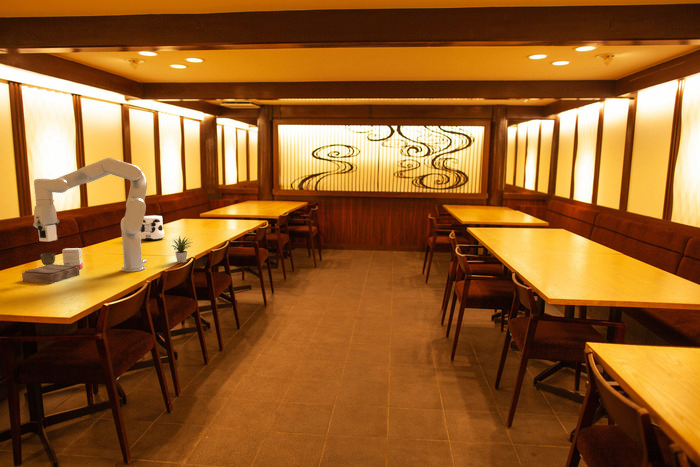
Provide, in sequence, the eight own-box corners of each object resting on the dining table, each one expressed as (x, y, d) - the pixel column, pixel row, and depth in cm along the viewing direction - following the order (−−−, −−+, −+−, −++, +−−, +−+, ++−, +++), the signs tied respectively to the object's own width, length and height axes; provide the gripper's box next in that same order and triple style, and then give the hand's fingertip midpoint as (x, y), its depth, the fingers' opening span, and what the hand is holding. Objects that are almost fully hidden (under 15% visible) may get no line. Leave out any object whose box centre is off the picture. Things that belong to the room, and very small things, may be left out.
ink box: (83, 267, 266) (81, 247, 264) (80, 269, 262) (78, 249, 260) (67, 267, 265) (65, 248, 263) (63, 269, 260) (61, 249, 258)
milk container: (160, 236, 368) (159, 214, 365) (167, 240, 355) (166, 217, 352) (137, 239, 357) (136, 216, 354) (144, 242, 344) (143, 219, 341)
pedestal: (51, 272, 253) (51, 263, 253) (79, 274, 250) (78, 265, 249) (22, 281, 236) (21, 271, 235) (52, 283, 232) (51, 273, 232)
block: (48, 239, 243) (46, 224, 241) (57, 239, 242) (55, 224, 240) (39, 241, 237) (37, 225, 236) (48, 241, 236) (46, 226, 235)
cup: (43, 266, 268) (41, 253, 266) (57, 265, 270) (56, 252, 269) (39, 269, 261) (38, 255, 259) (54, 268, 263) (53, 254, 262)
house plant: (185, 265, 274) (183, 238, 272) (164, 264, 277) (163, 237, 274) (197, 260, 288) (196, 234, 285) (177, 259, 291) (176, 233, 288)
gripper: (52, 200, 245) (55, 234, 248) (23, 204, 229) (27, 239, 232) (64, 201, 244) (67, 234, 247) (36, 204, 227) (39, 240, 230)
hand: (48, 236), depth 239 cm, fingers closed on block, 5 cm apart
